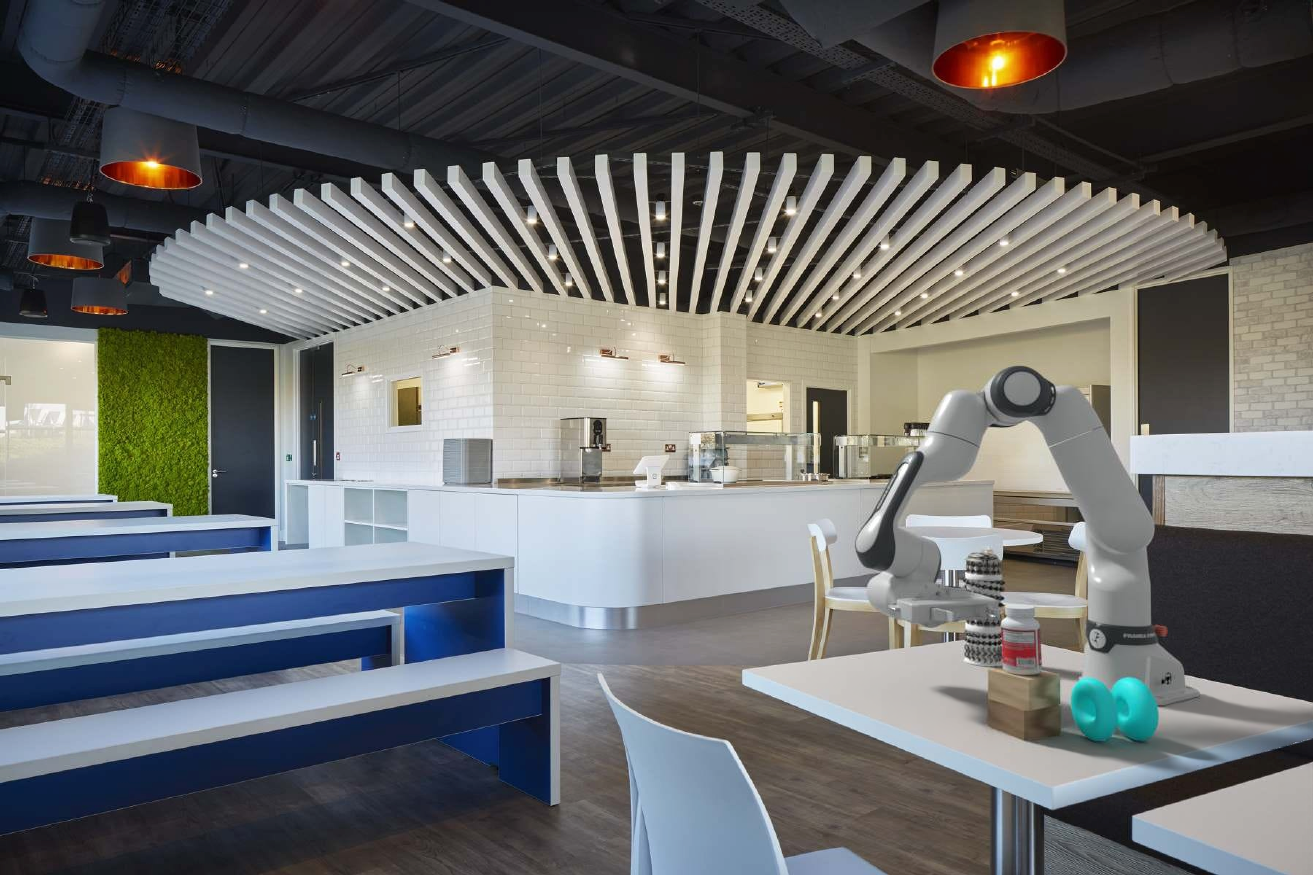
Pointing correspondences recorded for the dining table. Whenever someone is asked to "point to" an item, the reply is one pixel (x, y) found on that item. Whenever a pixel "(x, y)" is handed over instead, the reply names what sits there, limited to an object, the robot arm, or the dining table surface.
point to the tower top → (1024, 689)
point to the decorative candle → (984, 633)
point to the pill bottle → (1021, 640)
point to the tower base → (1024, 721)
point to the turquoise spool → (1114, 709)
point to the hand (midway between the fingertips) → (976, 616)
